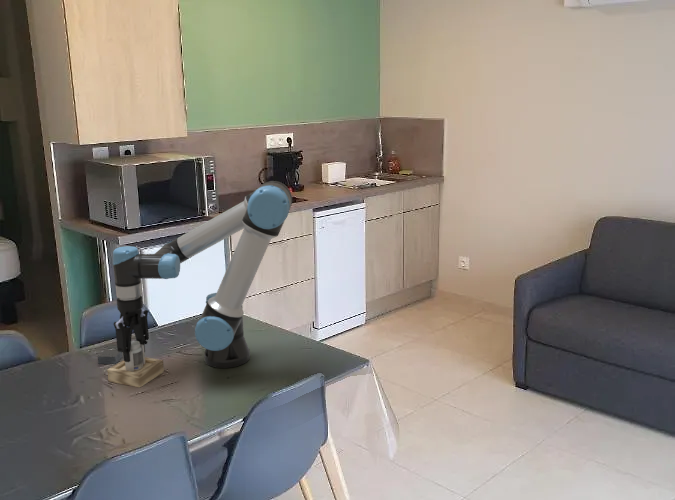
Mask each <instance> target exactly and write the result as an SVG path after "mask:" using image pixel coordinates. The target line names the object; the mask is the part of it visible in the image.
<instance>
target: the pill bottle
mask: <svg viewBox="0 0 675 500" xmlns="http://www.w3.org/2000/svg"><path fill="white" fill-rule="evenodd" d="M130 351H133V361H134V370H139V369H141V368H143V358H142V349H141V347H140V342H139V341H137V340H131V350H130Z"/></svg>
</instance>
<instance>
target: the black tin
mask: <svg viewBox="0 0 675 500" xmlns="http://www.w3.org/2000/svg"><path fill="white" fill-rule="evenodd" d="M123 358H124V356H123V352H118V350H117V349H103V350H102V351H101V353H100V354H99V355H97V363H98V365H116V364H118V363H120V362H121V360H122V359H123Z"/></svg>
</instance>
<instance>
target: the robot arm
mask: <svg viewBox="0 0 675 500" xmlns="http://www.w3.org/2000/svg"><path fill="white" fill-rule="evenodd" d="M292 195H293V194H292V192H291V190H290V189H289V188H288V186H286V185H285V184H284V183H282V182H280V181H277V180H275V181H274V180H270V181H267V182H264V183H262V184H261V185H260V186H259V187H258V188H256V189H255V190H254V191H253V192H251V193H249V194H247V195H246V196H244V200H243V201H241V202H240V203H237V204H236V205H234V206H233V207H231V208H229V209H227V210H225V211H224V212H221V213H220V214H218V215H216V216H214V217H213V218H211V219H209V220H208V221H206V222H204V223H203V224H200V225H198V226H197V227H195V228H193V229H191V230H190V231H188V232H186V233H184V234H183V235H182V234H181V236H179V237H178V238H176V239H174V240H172V241H169V242H166V243H165V244H163V245H162V247H160V248H159V250H157V251H156V252H155V253H139V249H138V247H136V246H132V245H131V246H129V245H128V246H126V245H125V246H120V247H116V248H115V249H114V250H113V251H112V266H113V274H114V284H115V294H116V306H117V311H118V312H119V313H120V314H119V320H118V321H114V322H113V326H114V329H115V338H116V350H118V352H122V355H123V360H124V362H125V367H126V370H128V371H134V361H133V351H130V350H131V341H132V338H133V337H132V336H133V333H134V336H135V341H139V342H140V347H141V349H142V358H143V365H144V364H145V357H146V356H145V355H146V348H145V347H146V346H145V345H148V341H149V340H150V336H149V324H148V321H149V320H148V313H149V310H148V309H143V307H144V304H143V296H142V295H143V292H142V291H143V290H142V288H143V287H142V281H141V279H146V280H147V279H152V280H153V279H155V280H156V279H159V280H160V279H161V280H168V279H176V278H178V277H179V275H180V272H181V264H182V263H184V262H186V261H187V260H189V259H191V258H192V257H194V256H196V255H198V254H199V253H202V252H204V251H205V250H207V249H208V248H211V247H213V246H215V245H216V244H218V243H220V242H222V241H224V240H225V239H227V238H229V237H231V236H233V235H235V234H236V233H238V232H240V231H242V230H243V231H242V233H241V235H240V238H239V239H238V242H237V245H236V247H235V249H234V252H233V254H232V256H231V259H230V261H229V264H228V265H227V268H226V270H225V272H224V275H223V277H222V279H221V283H220V284H219V287H218V289H217V291H216V292H213V293H210V294H208V295H206V301H205V304H206V305H205V307H204V309H203V311H202V315H201V316H200V319H198V321H197V322H196V324H195V328H194V337H195V339H196V341H197V343H198V344H199V345H200V346H201V347H203V348H205V351H204V355H203V356H204V363H205V364H206V365H208V366H210V367H212V368H219V369H220V368H221V369H229V368H235V367H238V366H242V365H244V364H246V363H247V362H249V360H250V359H251V351H250V348H249V346H248V343H247V341H246V338H245V334H244V333H245V332H244V312H245V311H244V310H243V304H244V301H245V299H246V296H247V295H248V292H249V290H250V289H251V286H252V283H253V281H254V278H255V277H256V275H257V272H258V270H259V267H260V265H261V264H262V261H263V258H264V256H265V254H266V252H267V250H268V247H269V245H270V242H271V240H272V239H274V238H275V239H276V238H277V237H279V235H280V232H281V230H282V227H283V226H284V223H285V221H286V220H287V217H288V215H289V213H290V211H291V208H292V205H293V196H292Z"/></svg>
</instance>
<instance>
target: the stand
mask: <svg viewBox="0 0 675 500" xmlns="http://www.w3.org/2000/svg"><path fill="white" fill-rule="evenodd" d="M164 370H165V369H164V360H163V359H158V358H152V357H147V356H145V364H144V365H143V368H141V369H139V370H134V371H128V370H126V367H125V362H124V359H123V360H122V361H121V360H120V361H119V362H118V363H117V364H113V366H111V367H110V368H107V370H106V371H107V379H108V382H110V383H114V384H119V385H125V386H131V387H135V388H141V387H143V386H144V385H146V384H148V383H149V382H151V381H152V380H154V379H155V378H157V377H159V376H160V375H162V374H163V373H164V372H165V371H164Z"/></svg>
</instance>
